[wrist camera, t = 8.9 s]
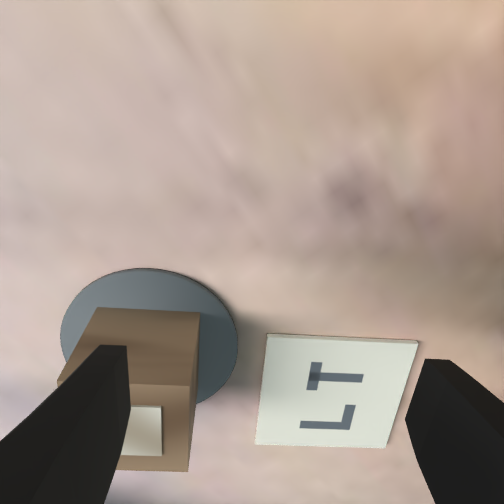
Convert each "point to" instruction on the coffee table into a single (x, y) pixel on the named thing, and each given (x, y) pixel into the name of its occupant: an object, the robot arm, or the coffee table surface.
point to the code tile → (331, 390)
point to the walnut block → (151, 381)
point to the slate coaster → (161, 298)
